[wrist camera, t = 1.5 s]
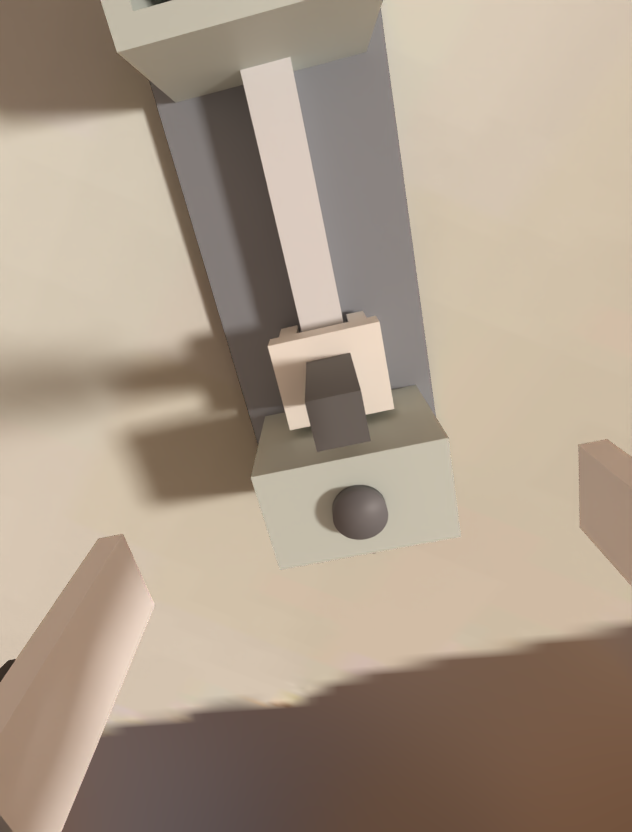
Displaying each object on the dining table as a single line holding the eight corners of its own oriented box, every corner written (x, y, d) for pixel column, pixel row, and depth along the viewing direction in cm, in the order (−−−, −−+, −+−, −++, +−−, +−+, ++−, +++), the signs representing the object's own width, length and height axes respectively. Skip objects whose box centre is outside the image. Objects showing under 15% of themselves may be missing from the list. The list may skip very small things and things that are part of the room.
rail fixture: (112, -57, 23) (-16, -233, 14) (358, -130, 22) (390, -368, 13) (277, 501, 35) (265, 597, 26) (440, 469, 34) (486, 558, 25)
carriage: (273, 330, 29) (255, 382, 20) (371, 308, 28) (398, 351, 19) (292, 406, 30) (284, 485, 21) (384, 386, 30) (416, 458, 21)
